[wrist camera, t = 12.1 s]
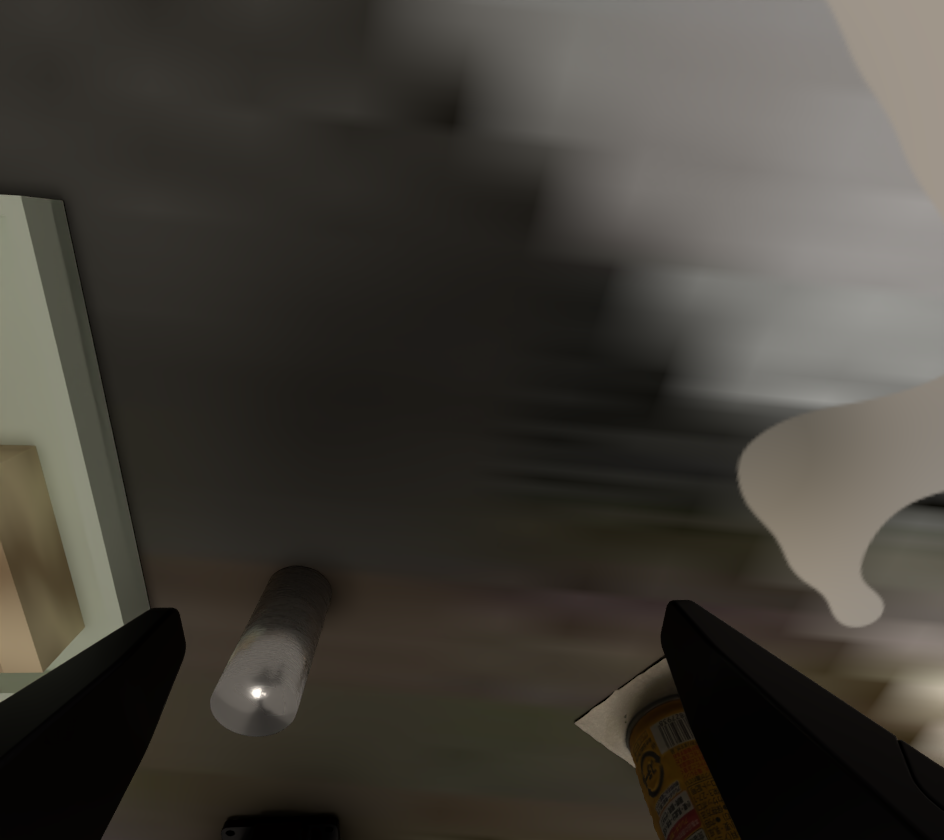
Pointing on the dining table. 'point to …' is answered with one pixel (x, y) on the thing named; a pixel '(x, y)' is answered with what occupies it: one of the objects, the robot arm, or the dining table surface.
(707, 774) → the condiment
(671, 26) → the dining table surface
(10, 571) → the wooden block frame
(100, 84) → the dining table surface
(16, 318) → the tray
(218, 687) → the cylinder
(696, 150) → the dining table surface
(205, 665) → the dining table surface
